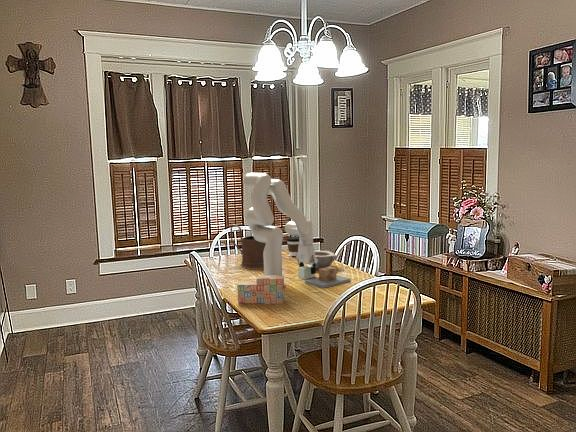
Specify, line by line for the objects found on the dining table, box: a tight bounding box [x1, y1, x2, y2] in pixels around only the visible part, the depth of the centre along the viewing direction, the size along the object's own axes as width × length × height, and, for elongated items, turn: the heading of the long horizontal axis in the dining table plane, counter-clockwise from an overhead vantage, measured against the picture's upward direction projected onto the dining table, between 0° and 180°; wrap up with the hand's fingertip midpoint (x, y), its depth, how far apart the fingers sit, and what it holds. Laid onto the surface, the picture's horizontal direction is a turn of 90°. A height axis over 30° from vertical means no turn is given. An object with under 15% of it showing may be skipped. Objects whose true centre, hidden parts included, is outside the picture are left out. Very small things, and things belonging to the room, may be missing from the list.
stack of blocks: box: [237, 274, 285, 305], centre depth 245 cm, size 21×6×12 cm, turn 84°
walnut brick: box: [318, 266, 337, 282], centre depth 278 cm, size 8×5×6 cm, turn 129°
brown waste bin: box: [230, 224, 266, 269], centre depth 323 cm, size 18×24×25 cm
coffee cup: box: [285, 236, 300, 257], centre depth 349 cm, size 11×11×12 cm
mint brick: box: [297, 264, 316, 280], centre depth 290 cm, size 8×5×6 cm, turn 130°
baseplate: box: [304, 274, 352, 289], centre depth 279 cm, size 20×14×2 cm
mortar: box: [308, 250, 338, 270], centre depth 312 cm, size 17×17×9 cm
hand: (307, 272), depth 291 cm, fingers open, 9 cm apart
